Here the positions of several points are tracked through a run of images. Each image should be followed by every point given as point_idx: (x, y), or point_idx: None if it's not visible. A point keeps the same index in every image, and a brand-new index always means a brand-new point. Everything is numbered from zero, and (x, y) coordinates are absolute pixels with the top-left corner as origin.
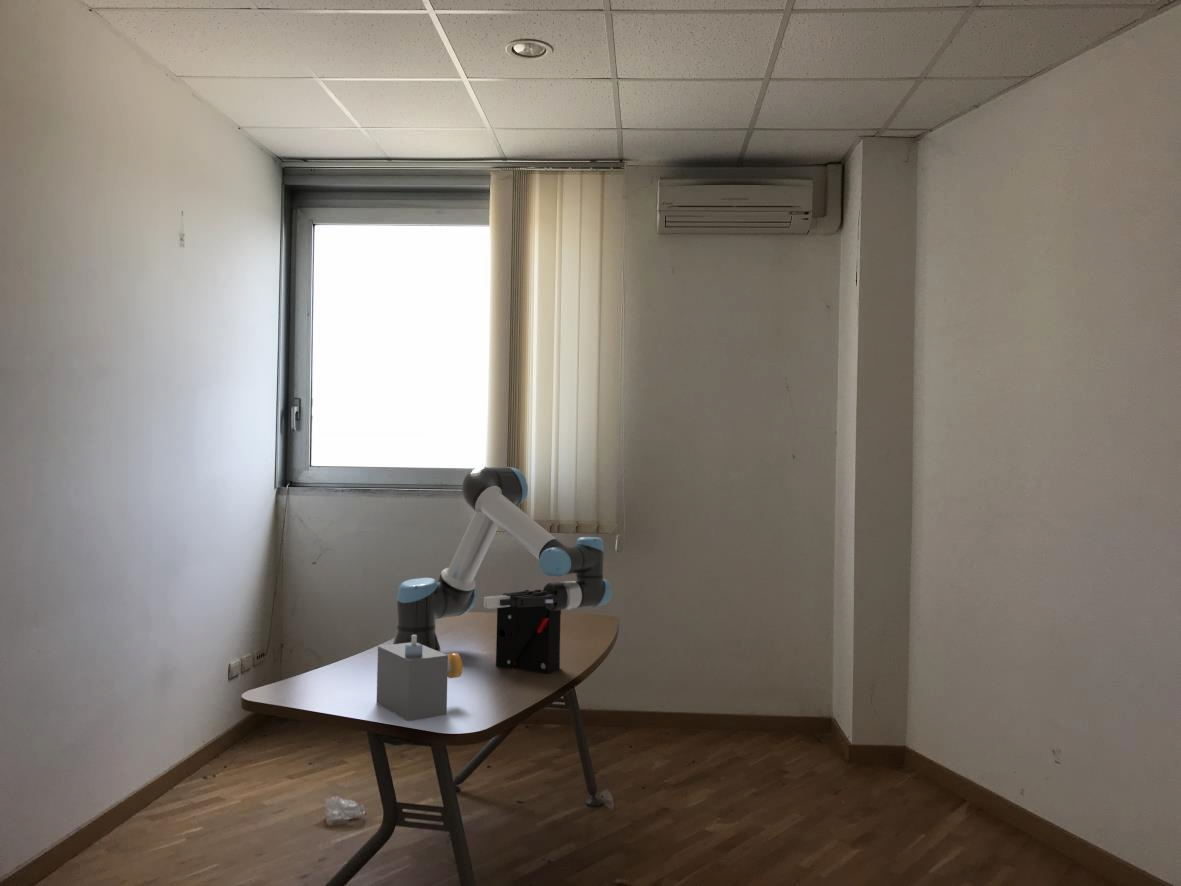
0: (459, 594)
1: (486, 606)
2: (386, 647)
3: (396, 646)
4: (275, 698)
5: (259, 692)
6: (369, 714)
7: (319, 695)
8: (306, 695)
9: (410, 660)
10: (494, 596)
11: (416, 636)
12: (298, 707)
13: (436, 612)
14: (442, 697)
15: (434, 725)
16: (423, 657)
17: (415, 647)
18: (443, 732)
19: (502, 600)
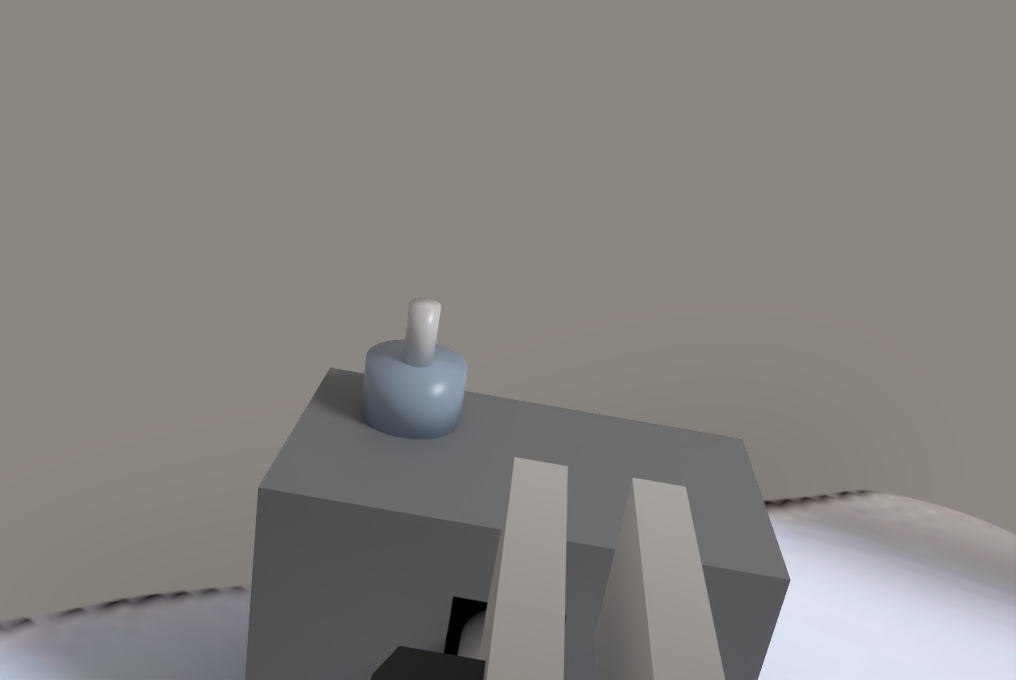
0: None
1: (598, 632)
2: (687, 441)
3: (690, 471)
4: (896, 529)
5: (999, 535)
6: None
7: (897, 618)
8: (911, 593)
9: (328, 372)
10: (647, 600)
11: (411, 311)
12: None
13: None
14: None
15: (147, 657)
16: (328, 413)
17: (371, 349)
18: (30, 626)
19: (390, 658)
